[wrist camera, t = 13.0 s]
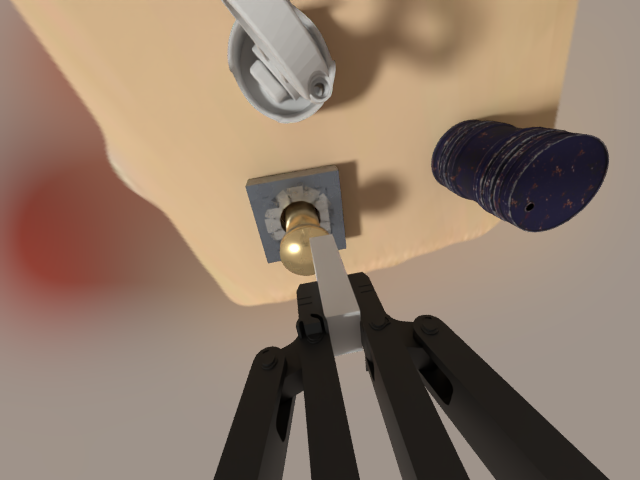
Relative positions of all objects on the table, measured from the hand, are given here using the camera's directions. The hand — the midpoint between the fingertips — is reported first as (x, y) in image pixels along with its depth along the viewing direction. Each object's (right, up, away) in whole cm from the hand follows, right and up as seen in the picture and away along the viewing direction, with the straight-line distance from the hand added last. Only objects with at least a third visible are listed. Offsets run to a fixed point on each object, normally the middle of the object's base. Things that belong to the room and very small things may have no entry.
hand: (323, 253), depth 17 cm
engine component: (-5, +21, +13) cm, 25 cm away
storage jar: (+21, +13, +21) cm, 32 cm away
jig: (-3, +5, +22) cm, 22 cm away
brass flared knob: (-3, +5, +22) cm, 22 cm away
